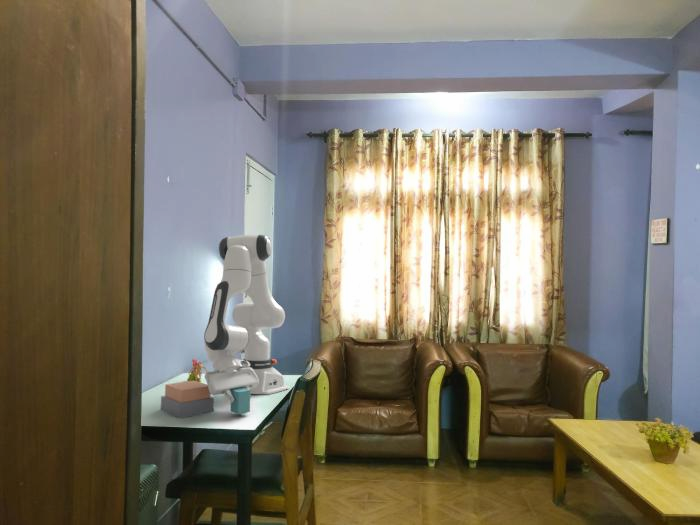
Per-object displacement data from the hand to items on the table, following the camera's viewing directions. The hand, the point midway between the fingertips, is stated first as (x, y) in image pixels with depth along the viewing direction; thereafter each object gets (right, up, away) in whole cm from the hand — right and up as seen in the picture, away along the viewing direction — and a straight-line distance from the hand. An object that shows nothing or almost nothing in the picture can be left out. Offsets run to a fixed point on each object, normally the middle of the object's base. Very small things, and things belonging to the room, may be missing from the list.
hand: (241, 399), depth 193 cm
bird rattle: (-33, -6, +53) cm, 63 cm away
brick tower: (-21, -5, +4) cm, 22 cm away
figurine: (-27, -6, +35) cm, 45 cm away
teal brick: (-1, -4, 0) cm, 4 cm away
